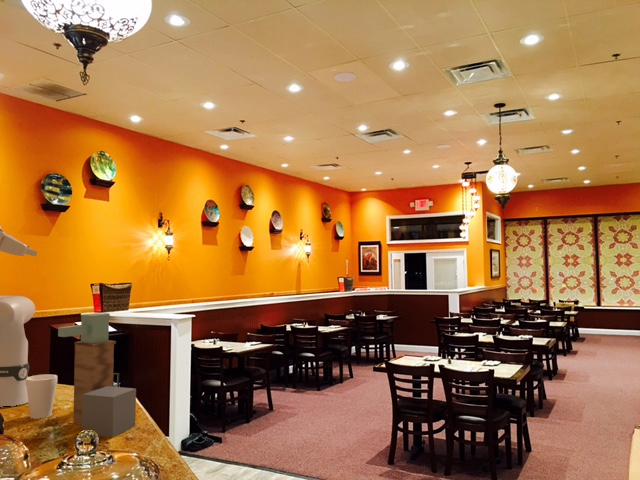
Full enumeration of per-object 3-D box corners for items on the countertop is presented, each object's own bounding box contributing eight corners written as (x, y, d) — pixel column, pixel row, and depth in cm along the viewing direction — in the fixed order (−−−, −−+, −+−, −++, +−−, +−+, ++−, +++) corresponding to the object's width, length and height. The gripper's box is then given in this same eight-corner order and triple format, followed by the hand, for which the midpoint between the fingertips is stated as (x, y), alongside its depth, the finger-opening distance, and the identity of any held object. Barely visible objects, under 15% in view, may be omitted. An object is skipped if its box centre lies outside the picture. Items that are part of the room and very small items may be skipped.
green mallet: (66, 347, 162) (67, 318, 163) (54, 345, 166) (55, 317, 166) (112, 340, 177) (113, 313, 177) (101, 339, 180) (101, 312, 180)
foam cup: (49, 410, 186) (50, 373, 186) (61, 415, 180) (62, 377, 180) (20, 416, 178) (21, 377, 179) (31, 422, 172) (32, 381, 173)
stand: (91, 427, 167) (93, 344, 168) (72, 422, 172) (74, 342, 173) (114, 420, 175) (116, 341, 176) (95, 415, 180) (97, 338, 181)
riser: (81, 434, 161) (82, 394, 161) (106, 423, 171) (106, 386, 172) (112, 437, 158) (113, 397, 158) (135, 426, 168) (136, 388, 169)
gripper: (-24, 238, 174) (18, 253, 183) (-10, 250, 159) (36, 266, 169) (-15, 221, 175) (27, 237, 184) (0, 231, 160) (45, 248, 170)
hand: (31, 251), depth 176 cm, fingers open, 8 cm apart
